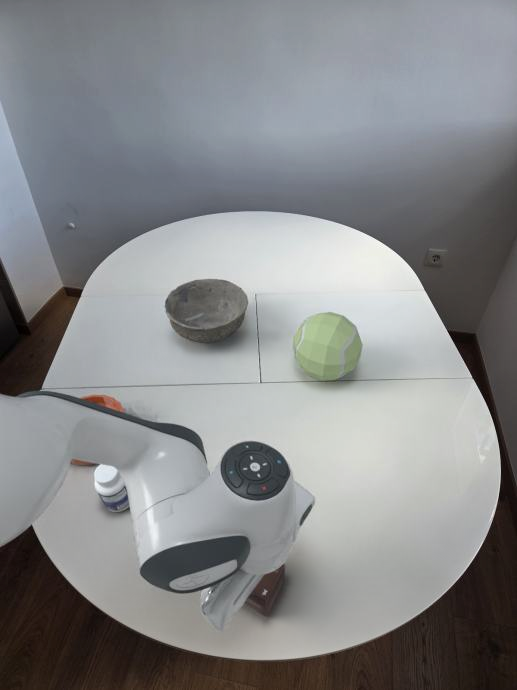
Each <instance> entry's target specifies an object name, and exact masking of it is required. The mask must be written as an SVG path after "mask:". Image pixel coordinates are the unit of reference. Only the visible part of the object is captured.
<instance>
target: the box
mask: <svg viewBox="0 0 517 690" xmlns="http://www.w3.org/2000/svg"><path fill="white" fill-rule="evenodd" d="M285 572H286V564H285V563H284V564H283V565H282V566H281V567H279V568H278V569H276V570H275V571H273V572H270V573H267V574H264V576H263V577H262V579H261V580H260V581H259V583H258V584H257V585H256V587H255V588H254V589H253V591H252V592H251V594H250V595H249V596H248V598H247V600H246V602H245V603H244V605H247V606H248V607H250V608H251V609H253V610H254V611H256V612H257V613H259V614H261V616H264V617H265V618H267V617H268V615H269V613H270V612H271V610H272V607H273V605H274V603H275V601H276V599H277V597H278V595H279V593H280V591H281V589H282V587H283V585H284V583H285V574H286V573H285Z"/></svg>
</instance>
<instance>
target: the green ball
mask: <svg viewBox="0 0 517 690" xmlns="http://www.w3.org/2000/svg"><path fill="white" fill-rule="evenodd" d="M363 346H364V344H363V341H362V338H361V336H360V334H359V331H358V328H357V325H356V324H354V323H353V322H352V321H351V320H350V319H349V318H347V317H346V316H345V315H343V314H339V313H335V312H332V311H327V312H319V313H315V314H313V315H311V316H309V317H307V318H306V319H305V320H304V321H303V322H302V323H301V324H300V325H299V327H298V328H297V330H296V331H295V333H294V335H293V342H292V349H293V355H294V359H295V361H296V363H297V364H298V365H299V368H300V369H301V370H302V371H304V372H305V373H306V375H307V376H309V377H310V378H313V379H316V380H320V381H322V382H326V381H336V380H338V379H340V378H342V377H344V376H345V375H347V374H349V373H350V372H351V371H353V370H354V369H355V368H356V367H357V365H358V363H359V361H360V359H361V355H362V351H363Z"/></svg>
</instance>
